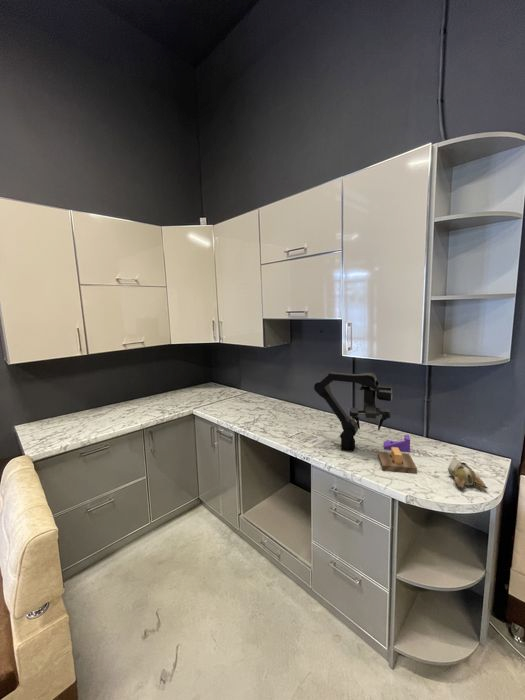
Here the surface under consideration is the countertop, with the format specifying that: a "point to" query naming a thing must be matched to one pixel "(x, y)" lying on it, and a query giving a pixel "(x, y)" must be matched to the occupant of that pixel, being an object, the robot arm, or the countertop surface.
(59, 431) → the countertop surface
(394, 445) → the bracket
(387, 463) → the brown slotted square board
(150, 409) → the countertop surface
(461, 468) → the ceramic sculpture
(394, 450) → the tan wooden block
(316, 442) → the photo frame
